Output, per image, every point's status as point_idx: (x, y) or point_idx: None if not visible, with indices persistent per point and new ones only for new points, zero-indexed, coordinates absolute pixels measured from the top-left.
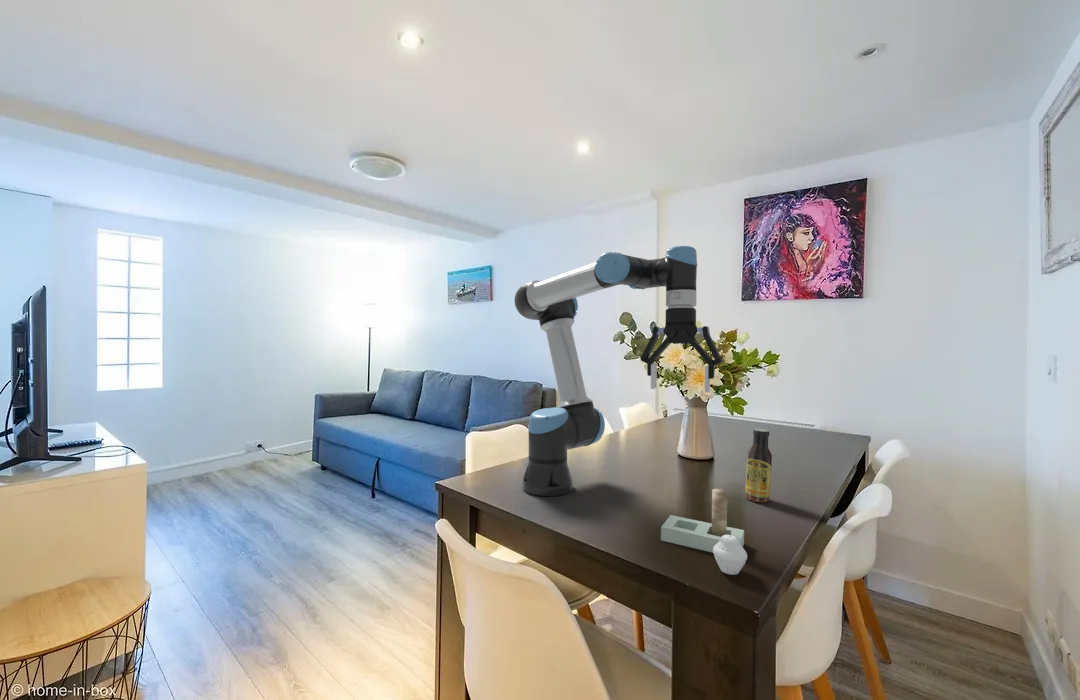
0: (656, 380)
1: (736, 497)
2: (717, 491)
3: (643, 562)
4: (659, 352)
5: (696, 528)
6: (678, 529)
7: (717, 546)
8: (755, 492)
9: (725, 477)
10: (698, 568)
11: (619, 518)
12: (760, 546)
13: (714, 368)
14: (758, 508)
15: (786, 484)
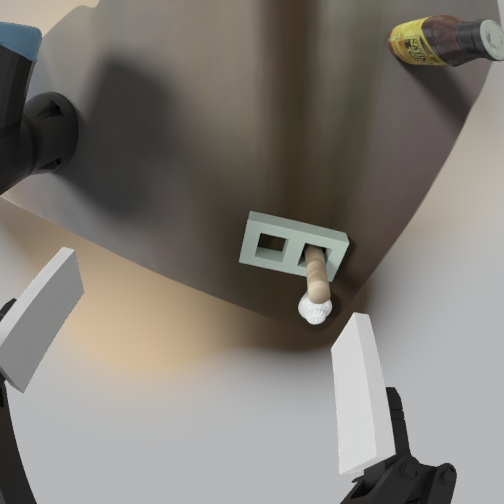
0: (51, 280)
1: (370, 36)
2: (315, 299)
3: (230, 299)
4: (22, 469)
5: (285, 254)
6: (261, 263)
7: (302, 313)
8: (407, 61)
9: None
10: (283, 297)
11: (174, 202)
12: (364, 234)
13: (407, 442)
14: (400, 88)
15: None
